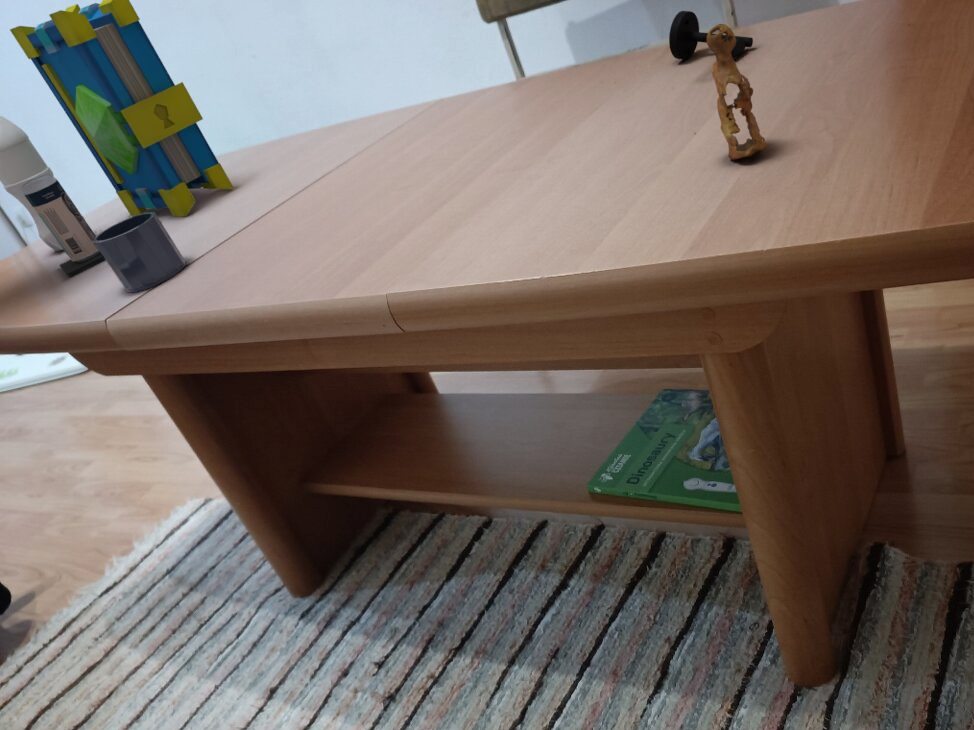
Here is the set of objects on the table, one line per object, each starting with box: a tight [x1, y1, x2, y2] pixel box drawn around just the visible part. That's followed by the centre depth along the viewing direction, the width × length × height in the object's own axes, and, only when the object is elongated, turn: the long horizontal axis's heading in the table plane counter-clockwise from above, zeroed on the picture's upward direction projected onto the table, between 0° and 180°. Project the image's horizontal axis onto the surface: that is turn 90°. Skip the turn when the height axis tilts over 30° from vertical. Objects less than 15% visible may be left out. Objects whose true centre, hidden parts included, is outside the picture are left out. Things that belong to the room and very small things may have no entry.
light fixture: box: [668, 10, 754, 62], centre depth 113 cm, size 6×11×13 cm
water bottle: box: [0, 114, 85, 252], centre depth 135 cm, size 7×7×25 cm
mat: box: [59, 253, 105, 278], centre depth 129 cm, size 8×8×1 cm
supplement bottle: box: [22, 174, 100, 262], centre depth 126 cm, size 5×5×12 cm
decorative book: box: [9, 0, 235, 218], centre depth 134 cm, size 14×23×30 cm, turn 53°
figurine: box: [706, 23, 768, 161], centre depth 80 cm, size 5×6×12 cm
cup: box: [92, 211, 187, 293], centre depth 110 cm, size 8×8×7 cm
